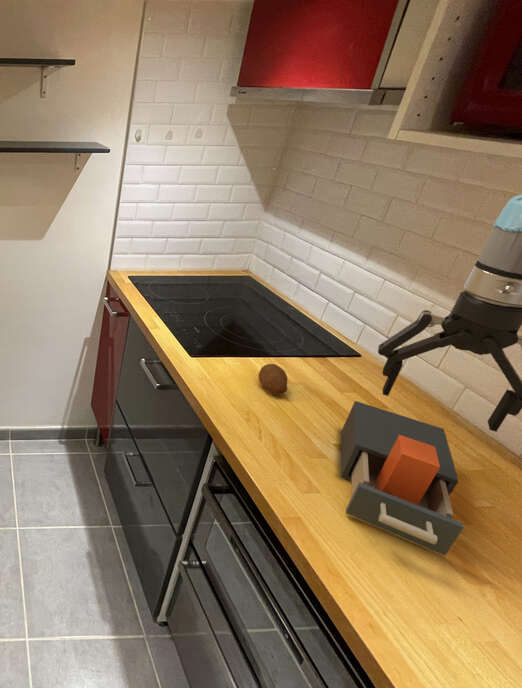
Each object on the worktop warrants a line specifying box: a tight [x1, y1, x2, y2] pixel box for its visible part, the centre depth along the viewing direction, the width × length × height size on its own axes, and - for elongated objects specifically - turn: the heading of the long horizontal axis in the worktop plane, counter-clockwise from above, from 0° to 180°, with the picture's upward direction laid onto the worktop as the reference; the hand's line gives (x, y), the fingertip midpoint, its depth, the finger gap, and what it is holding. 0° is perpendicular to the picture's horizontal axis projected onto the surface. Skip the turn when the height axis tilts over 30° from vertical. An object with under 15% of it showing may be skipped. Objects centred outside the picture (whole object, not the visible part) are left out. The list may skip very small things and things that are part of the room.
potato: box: [258, 363, 288, 395], centre depth 117 cm, size 7×10×6 cm
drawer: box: [345, 450, 465, 557], centre depth 81 cm, size 20×14×7 cm
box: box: [375, 435, 440, 505], centre depth 82 cm, size 5×6×12 cm
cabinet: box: [340, 400, 460, 497], centre depth 92 cm, size 17×15×9 cm
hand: (435, 408), depth 77 cm, fingers open, 13 cm apart
